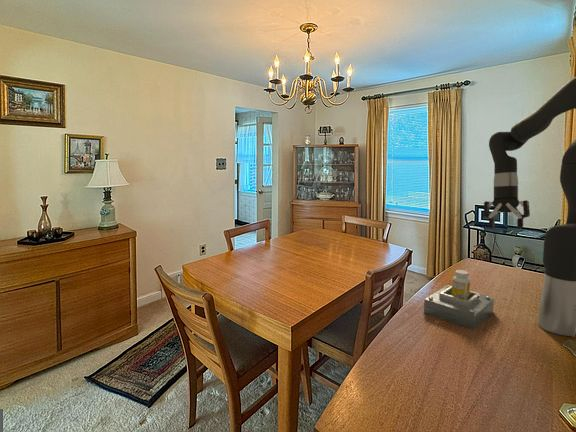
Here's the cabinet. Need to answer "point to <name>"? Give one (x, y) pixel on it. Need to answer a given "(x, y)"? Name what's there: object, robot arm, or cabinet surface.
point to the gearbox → (459, 307)
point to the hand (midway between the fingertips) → (505, 228)
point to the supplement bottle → (461, 284)
